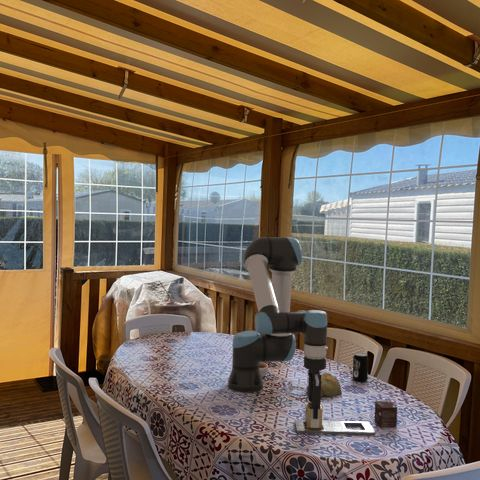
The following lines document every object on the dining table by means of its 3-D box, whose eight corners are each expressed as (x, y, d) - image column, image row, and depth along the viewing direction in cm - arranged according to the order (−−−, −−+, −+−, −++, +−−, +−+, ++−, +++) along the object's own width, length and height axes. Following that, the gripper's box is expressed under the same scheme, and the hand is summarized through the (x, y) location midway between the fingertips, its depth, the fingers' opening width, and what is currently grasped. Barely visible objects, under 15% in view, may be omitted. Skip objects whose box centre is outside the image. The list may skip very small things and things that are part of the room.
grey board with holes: (297, 433, 167) (297, 430, 167) (294, 422, 176) (294, 419, 176) (375, 435, 167) (375, 432, 167) (368, 424, 176) (368, 421, 176)
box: (373, 421, 179) (374, 401, 179) (390, 421, 179) (390, 400, 179) (380, 428, 173) (380, 407, 173) (397, 428, 173) (397, 407, 173)
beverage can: (367, 383, 223) (368, 356, 223) (352, 381, 225) (353, 355, 224) (367, 378, 230) (367, 352, 229) (352, 377, 231) (353, 351, 231)
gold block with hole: (306, 431, 169) (307, 407, 169) (305, 425, 174) (305, 402, 174) (321, 431, 169) (322, 407, 169) (319, 425, 174) (320, 402, 174)
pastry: (342, 390, 213) (343, 371, 213) (339, 400, 201) (340, 380, 201) (309, 386, 217) (310, 368, 217) (304, 395, 205) (305, 376, 205)
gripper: (330, 363, 162) (328, 435, 162) (321, 350, 180) (320, 414, 180) (307, 363, 162) (305, 434, 162) (301, 349, 180) (299, 413, 180)
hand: (313, 423), depth 171 cm, fingers closed on gold block with hole, 5 cm apart
